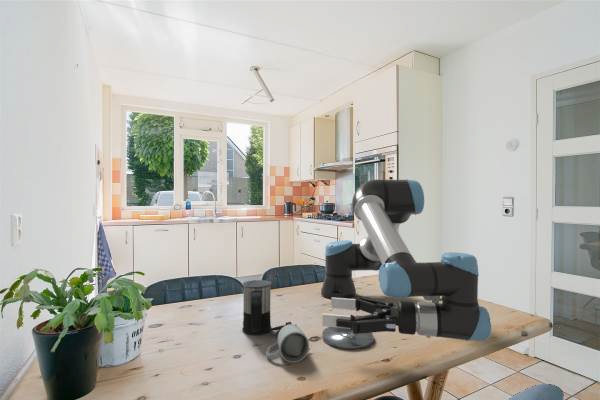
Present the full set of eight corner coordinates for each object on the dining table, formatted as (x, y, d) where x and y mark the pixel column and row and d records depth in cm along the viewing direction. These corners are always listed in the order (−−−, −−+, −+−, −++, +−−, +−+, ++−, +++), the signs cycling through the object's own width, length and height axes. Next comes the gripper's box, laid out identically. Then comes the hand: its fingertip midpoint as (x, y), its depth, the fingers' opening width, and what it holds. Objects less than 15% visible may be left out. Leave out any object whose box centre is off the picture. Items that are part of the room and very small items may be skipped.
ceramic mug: (302, 347, 90) (302, 319, 90) (309, 361, 82) (309, 331, 82) (264, 351, 87) (264, 323, 87) (268, 366, 79) (267, 335, 79)
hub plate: (312, 334, 98) (312, 330, 98) (350, 325, 106) (350, 321, 106) (343, 354, 85) (343, 350, 85) (384, 342, 93) (384, 338, 93)
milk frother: (239, 326, 104) (239, 280, 104) (284, 319, 111) (284, 276, 111) (250, 344, 91) (250, 292, 91) (300, 335, 97) (301, 286, 97)
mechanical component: (452, 320, 110) (452, 291, 111) (420, 317, 113) (420, 289, 113) (449, 317, 113) (449, 288, 113) (419, 314, 115) (419, 287, 115)
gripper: (421, 358, 64) (318, 346, 69) (411, 316, 88) (334, 309, 94) (421, 320, 64) (318, 311, 69) (410, 289, 88) (334, 284, 94)
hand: (327, 310), depth 82 cm, fingers open, 13 cm apart
